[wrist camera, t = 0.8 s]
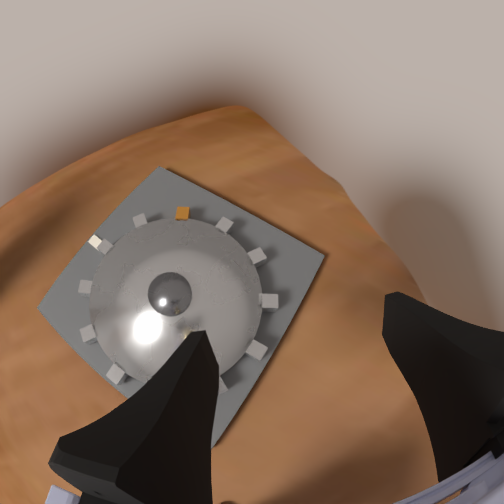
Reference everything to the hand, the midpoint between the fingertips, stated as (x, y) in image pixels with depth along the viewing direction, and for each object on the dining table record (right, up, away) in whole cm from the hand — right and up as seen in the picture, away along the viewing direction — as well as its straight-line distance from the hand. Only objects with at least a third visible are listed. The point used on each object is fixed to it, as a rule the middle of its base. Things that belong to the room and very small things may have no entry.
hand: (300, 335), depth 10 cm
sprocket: (-9, -1, +12) cm, 15 cm away
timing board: (-9, 0, +14) cm, 17 cm away
